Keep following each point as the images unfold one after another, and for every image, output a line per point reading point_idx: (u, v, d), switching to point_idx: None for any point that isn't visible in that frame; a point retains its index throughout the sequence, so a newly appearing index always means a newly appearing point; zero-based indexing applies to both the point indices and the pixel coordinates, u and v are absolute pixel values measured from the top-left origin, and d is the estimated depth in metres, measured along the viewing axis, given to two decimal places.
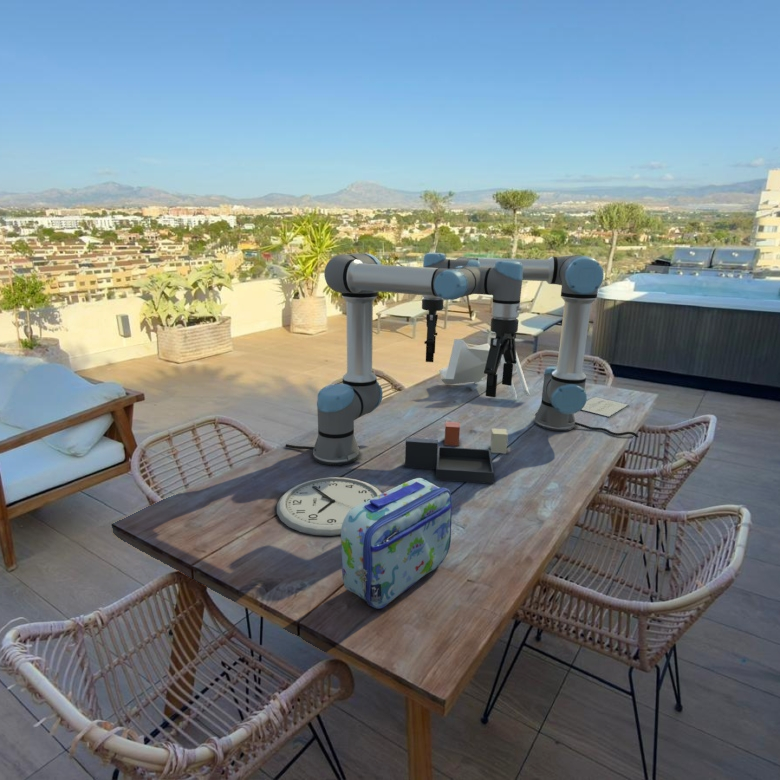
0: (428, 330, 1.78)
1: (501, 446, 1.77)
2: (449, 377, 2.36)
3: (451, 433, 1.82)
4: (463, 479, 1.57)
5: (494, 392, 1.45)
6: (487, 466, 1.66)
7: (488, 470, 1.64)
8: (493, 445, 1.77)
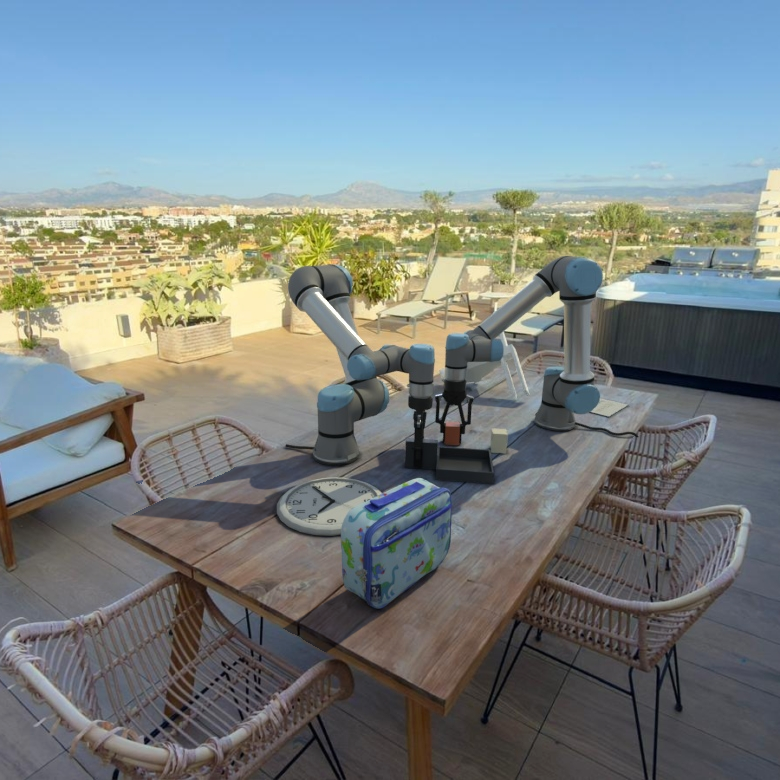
0: None
1: (501, 446, 1.77)
2: None
3: (451, 433, 1.82)
4: (463, 479, 1.57)
5: None
6: (487, 466, 1.66)
7: (488, 470, 1.64)
8: (493, 445, 1.77)
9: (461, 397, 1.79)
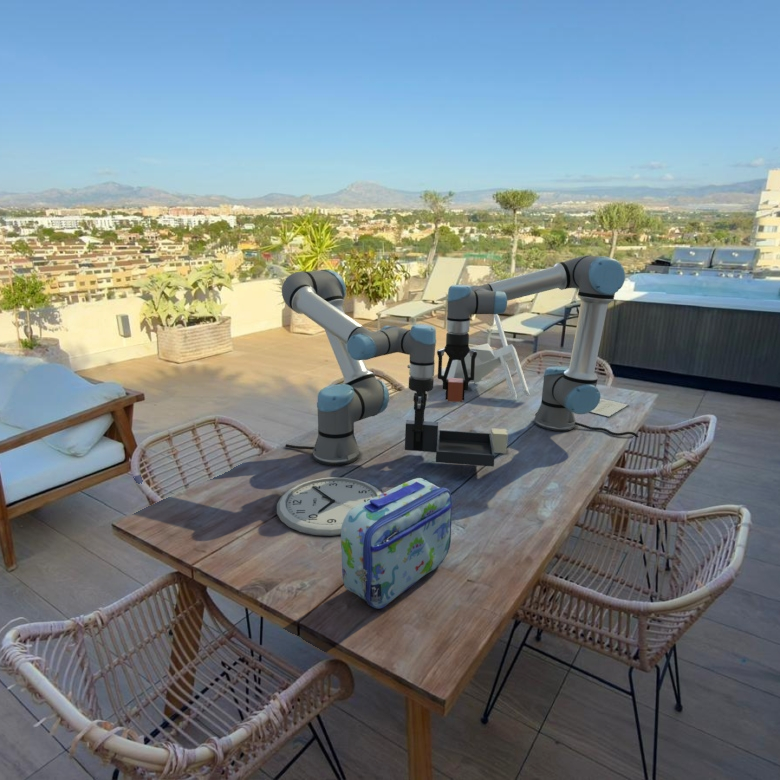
0: None
1: (501, 446, 1.77)
2: (449, 377, 2.36)
3: (454, 389, 1.77)
4: (463, 462, 1.56)
5: None
6: (487, 449, 1.65)
7: (488, 453, 1.62)
8: (493, 445, 1.77)
9: (464, 351, 1.74)
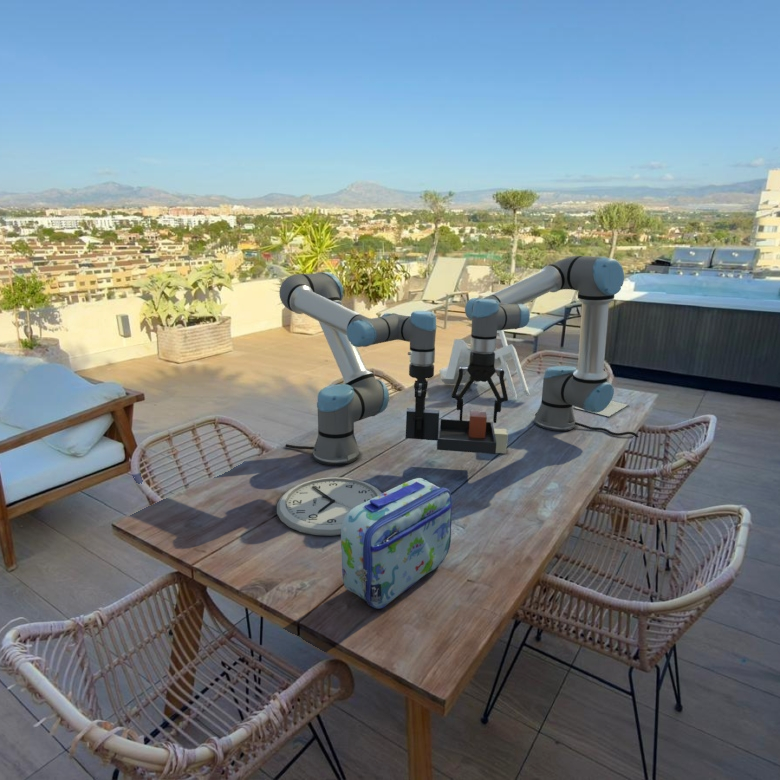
0: (455, 383, 1.62)
1: (501, 446, 1.77)
2: (449, 377, 2.36)
3: (477, 424, 1.62)
4: (465, 449, 1.54)
5: None
6: (489, 438, 1.64)
7: (490, 441, 1.61)
8: None
9: (489, 372, 1.58)
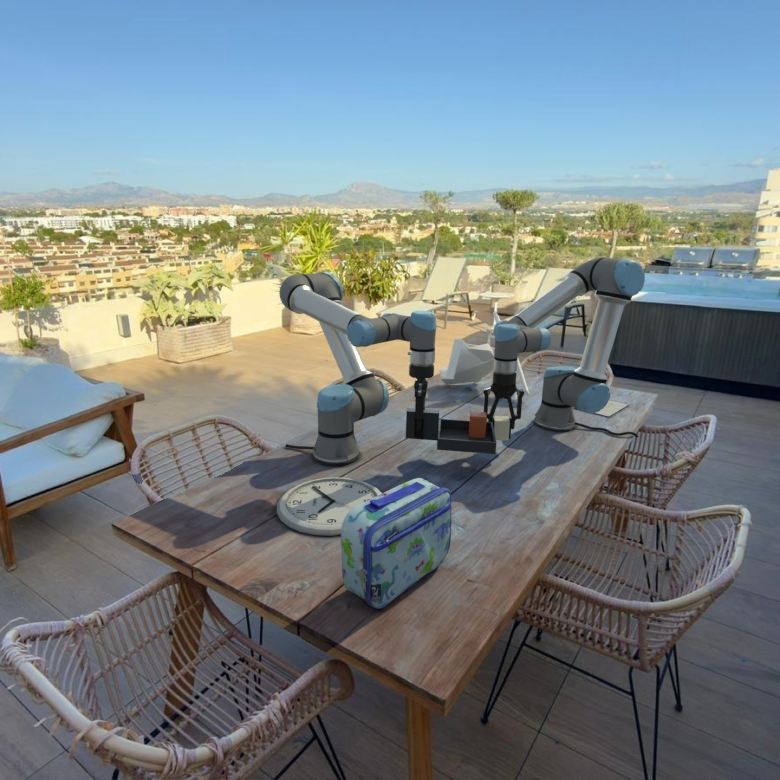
0: None
1: (504, 433, 1.76)
2: (449, 377, 2.36)
3: (477, 424, 1.62)
4: (465, 449, 1.54)
5: None
6: (489, 438, 1.64)
7: (490, 441, 1.61)
8: (495, 432, 1.76)
9: (511, 390, 1.72)
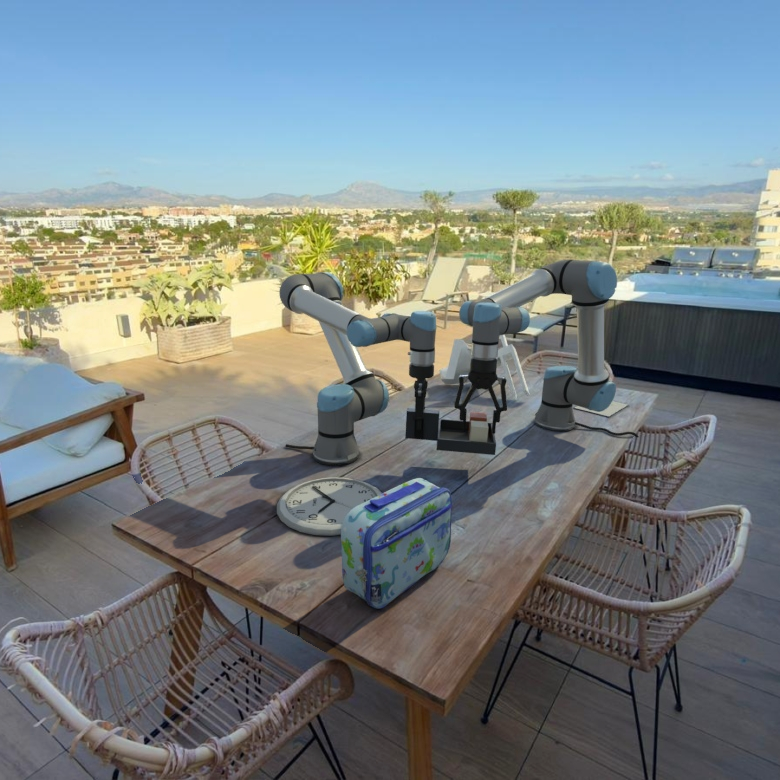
0: (457, 392, 1.55)
1: (481, 441, 1.55)
2: (449, 377, 2.36)
3: None
4: (464, 450, 1.54)
5: None
6: (489, 439, 1.64)
7: (490, 442, 1.61)
8: (472, 440, 1.55)
9: (491, 379, 1.51)
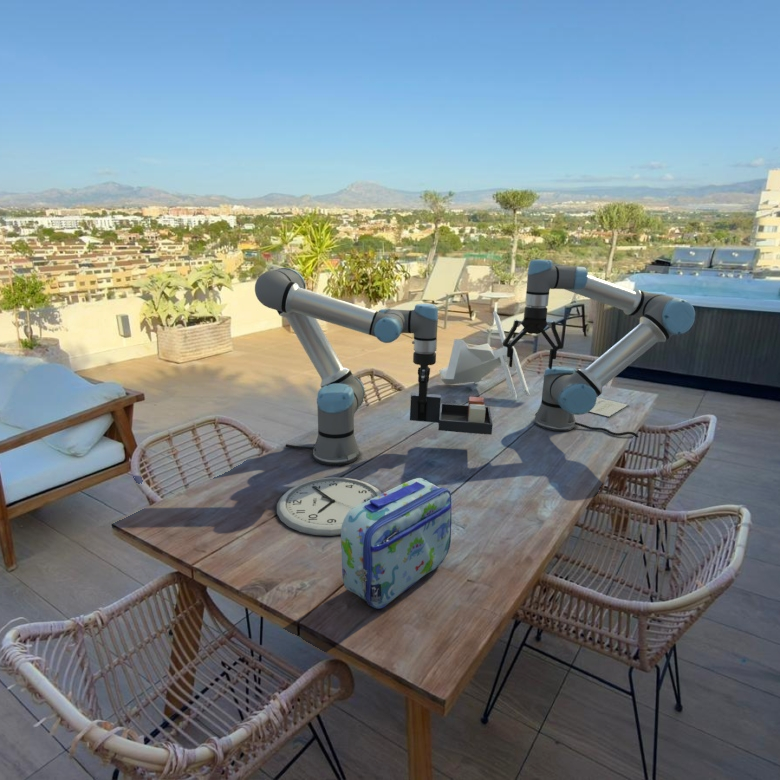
0: (508, 333, 1.82)
1: (479, 422, 1.70)
2: (449, 377, 2.36)
3: None
4: (464, 430, 1.69)
5: None
6: (486, 421, 1.79)
7: None
8: (470, 421, 1.70)
9: (542, 325, 1.78)
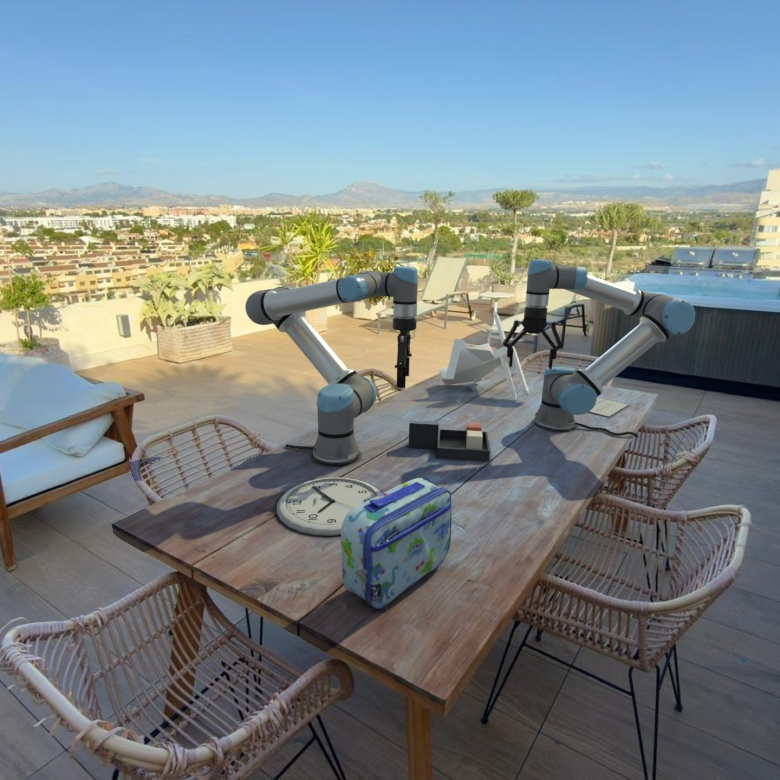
0: (508, 333, 1.82)
1: (476, 449, 1.73)
2: (449, 377, 2.36)
3: None
4: (462, 457, 1.72)
5: None
6: (484, 446, 1.82)
7: (485, 449, 1.79)
8: (468, 448, 1.73)
9: (542, 325, 1.78)
